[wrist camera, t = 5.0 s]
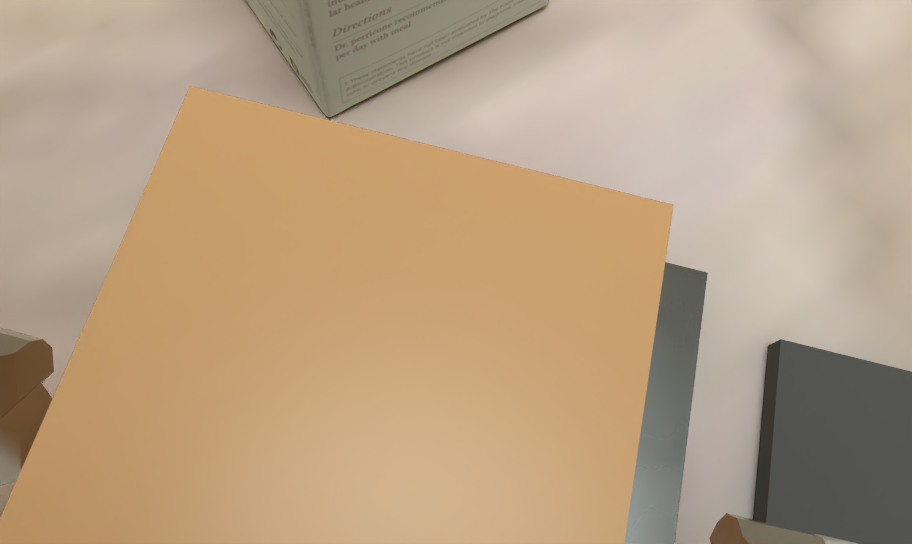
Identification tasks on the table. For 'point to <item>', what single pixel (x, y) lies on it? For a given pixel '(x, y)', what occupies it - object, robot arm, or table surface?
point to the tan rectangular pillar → (352, 349)
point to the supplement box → (376, 39)
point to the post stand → (667, 408)
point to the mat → (835, 446)
